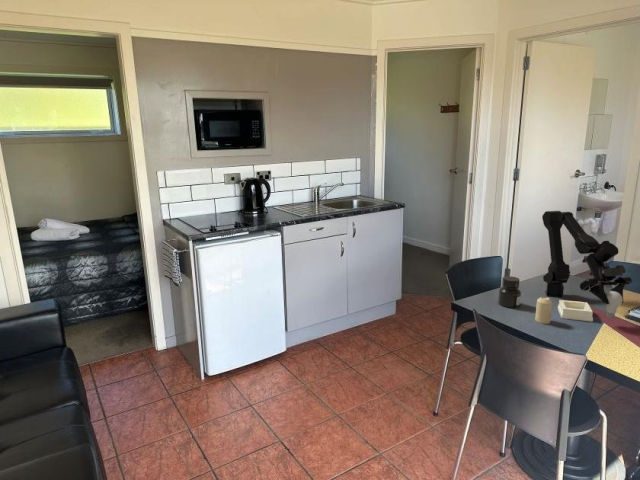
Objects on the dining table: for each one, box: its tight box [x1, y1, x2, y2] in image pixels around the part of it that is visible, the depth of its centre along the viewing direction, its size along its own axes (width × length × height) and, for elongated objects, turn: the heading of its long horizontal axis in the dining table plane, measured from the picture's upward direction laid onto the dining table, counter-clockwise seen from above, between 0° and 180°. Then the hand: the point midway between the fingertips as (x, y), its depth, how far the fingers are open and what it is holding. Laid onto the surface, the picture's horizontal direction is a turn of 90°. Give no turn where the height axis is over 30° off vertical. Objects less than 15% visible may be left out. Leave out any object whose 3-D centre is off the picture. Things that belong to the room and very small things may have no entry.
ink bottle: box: [497, 275, 522, 309], centre depth 195 cm, size 10×9×12 cm
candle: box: [534, 296, 553, 325], centre depth 177 cm, size 6×6×10 cm
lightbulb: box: [604, 290, 624, 319], centre depth 172 cm, size 6×6×11 cm
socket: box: [557, 299, 594, 322], centre depth 183 cm, size 11×11×4 cm
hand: (615, 303), depth 170 cm, fingers closed on lightbulb, 6 cm apart
